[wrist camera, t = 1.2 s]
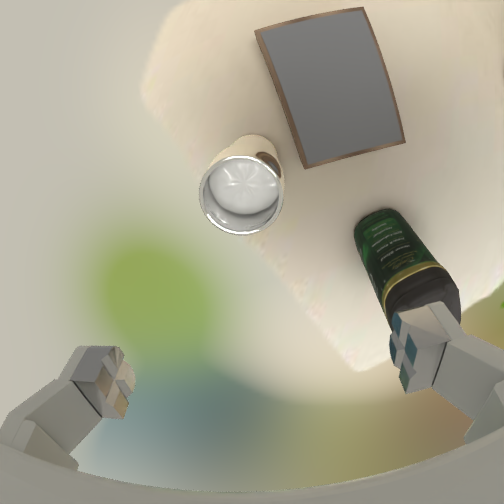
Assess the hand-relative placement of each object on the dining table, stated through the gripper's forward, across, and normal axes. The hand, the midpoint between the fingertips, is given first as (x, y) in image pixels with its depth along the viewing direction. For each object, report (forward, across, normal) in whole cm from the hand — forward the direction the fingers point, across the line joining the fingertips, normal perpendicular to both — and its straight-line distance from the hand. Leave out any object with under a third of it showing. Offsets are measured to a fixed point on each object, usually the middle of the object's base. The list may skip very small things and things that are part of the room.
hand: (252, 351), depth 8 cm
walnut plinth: (+31, -10, -8) cm, 33 cm away
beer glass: (+32, +1, 0) cm, 32 cm away
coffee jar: (+31, -15, +14) cm, 37 cm away
